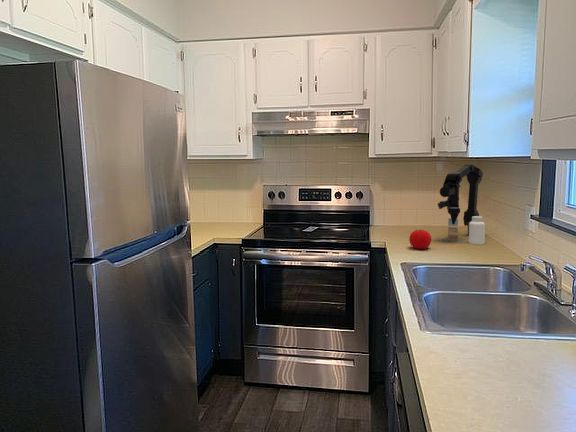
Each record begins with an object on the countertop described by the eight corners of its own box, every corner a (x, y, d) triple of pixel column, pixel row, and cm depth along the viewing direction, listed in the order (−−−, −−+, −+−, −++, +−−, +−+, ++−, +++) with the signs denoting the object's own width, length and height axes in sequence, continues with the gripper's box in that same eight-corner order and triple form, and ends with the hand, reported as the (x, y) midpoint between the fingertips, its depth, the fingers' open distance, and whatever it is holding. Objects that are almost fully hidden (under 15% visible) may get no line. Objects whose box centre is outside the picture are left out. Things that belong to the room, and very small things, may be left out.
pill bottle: (483, 242, 256) (484, 215, 255) (485, 245, 249) (486, 217, 247) (467, 242, 258) (468, 215, 257) (469, 245, 251) (470, 217, 249)
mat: (440, 239, 270) (440, 238, 270) (462, 240, 266) (462, 239, 266) (440, 242, 259) (440, 241, 259) (463, 243, 256) (463, 242, 256)
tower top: (448, 233, 265) (448, 227, 265) (457, 233, 264) (457, 227, 263) (448, 234, 260) (448, 228, 260) (457, 235, 259) (457, 228, 258)
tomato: (417, 251, 237) (417, 231, 236) (404, 247, 249) (404, 228, 248) (436, 249, 240) (436, 230, 239) (423, 245, 252) (423, 227, 251)
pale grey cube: (448, 224, 265) (448, 218, 264) (457, 224, 263) (457, 218, 263) (448, 225, 260) (448, 219, 260) (457, 226, 258) (457, 219, 258)
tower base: (447, 239, 266) (448, 233, 265) (457, 239, 264) (457, 233, 264) (448, 241, 261) (448, 234, 260) (457, 241, 259) (457, 235, 259)
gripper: (438, 194, 271) (437, 221, 273) (438, 197, 253) (438, 225, 255) (458, 194, 267) (458, 221, 269) (460, 197, 250) (459, 226, 252)
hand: (453, 223), depth 261 cm, fingers closed on pale grey cube, 5 cm apart
